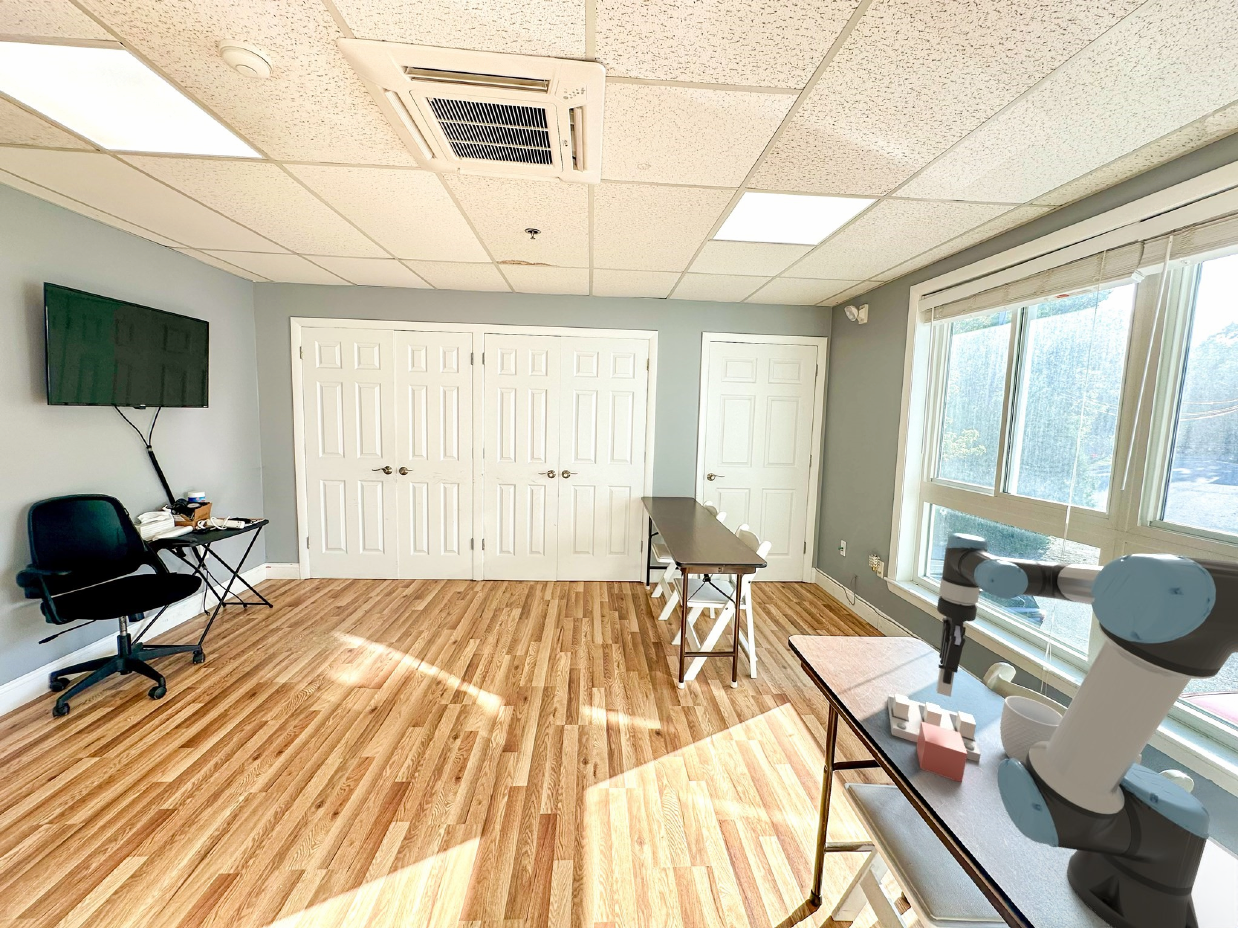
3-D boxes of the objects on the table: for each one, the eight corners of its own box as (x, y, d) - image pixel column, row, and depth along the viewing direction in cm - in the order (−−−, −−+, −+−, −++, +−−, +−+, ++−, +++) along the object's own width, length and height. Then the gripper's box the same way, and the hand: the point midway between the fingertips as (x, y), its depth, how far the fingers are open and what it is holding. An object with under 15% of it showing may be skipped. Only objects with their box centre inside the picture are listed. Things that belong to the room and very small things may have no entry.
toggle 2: (939, 728, 120) (941, 714, 119) (925, 724, 121) (927, 710, 120) (936, 719, 123) (939, 705, 123) (923, 715, 125) (925, 701, 124)
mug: (1083, 778, 109) (1095, 726, 107) (1068, 798, 103) (1081, 743, 101) (1004, 737, 122) (1014, 690, 120) (987, 753, 115) (996, 703, 114)
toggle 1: (907, 719, 123) (909, 705, 122) (893, 715, 124) (896, 701, 123) (905, 710, 126) (907, 696, 126) (892, 707, 127) (894, 693, 127)
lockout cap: (961, 782, 106) (967, 753, 105) (920, 768, 109) (925, 740, 108) (955, 759, 112) (960, 732, 112) (916, 747, 116) (921, 721, 115)
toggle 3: (973, 739, 117) (976, 724, 116) (958, 734, 118) (961, 720, 117) (969, 729, 120) (972, 715, 120) (955, 725, 122) (958, 711, 121)
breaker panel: (979, 761, 112) (980, 753, 112) (891, 734, 120) (893, 726, 120) (964, 722, 127) (966, 714, 126) (887, 699, 134) (888, 692, 134)
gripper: (984, 613, 105) (967, 712, 108) (971, 594, 117) (957, 685, 120) (943, 604, 109) (928, 702, 111) (935, 587, 120) (922, 675, 123)
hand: (943, 693), depth 116 cm, fingers closed
